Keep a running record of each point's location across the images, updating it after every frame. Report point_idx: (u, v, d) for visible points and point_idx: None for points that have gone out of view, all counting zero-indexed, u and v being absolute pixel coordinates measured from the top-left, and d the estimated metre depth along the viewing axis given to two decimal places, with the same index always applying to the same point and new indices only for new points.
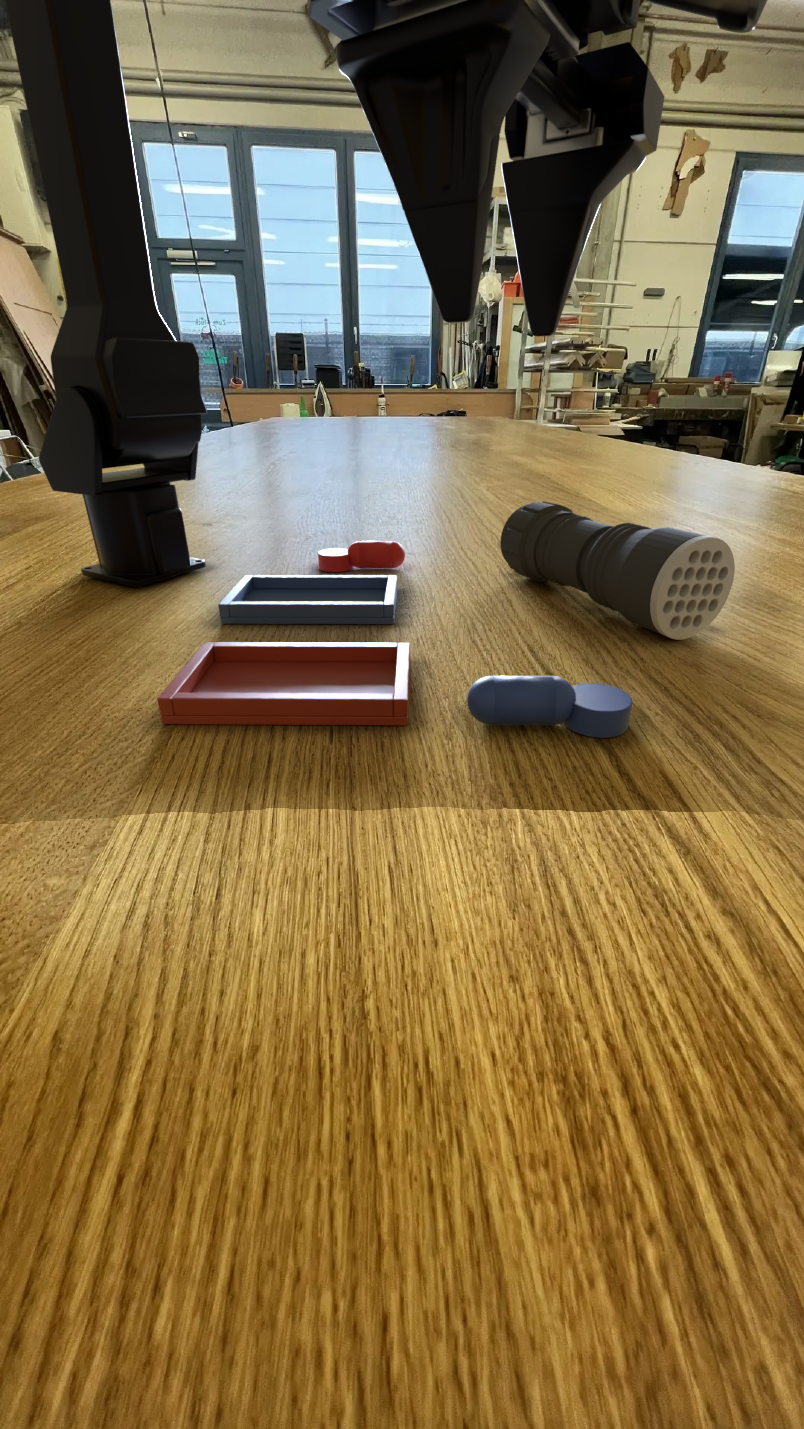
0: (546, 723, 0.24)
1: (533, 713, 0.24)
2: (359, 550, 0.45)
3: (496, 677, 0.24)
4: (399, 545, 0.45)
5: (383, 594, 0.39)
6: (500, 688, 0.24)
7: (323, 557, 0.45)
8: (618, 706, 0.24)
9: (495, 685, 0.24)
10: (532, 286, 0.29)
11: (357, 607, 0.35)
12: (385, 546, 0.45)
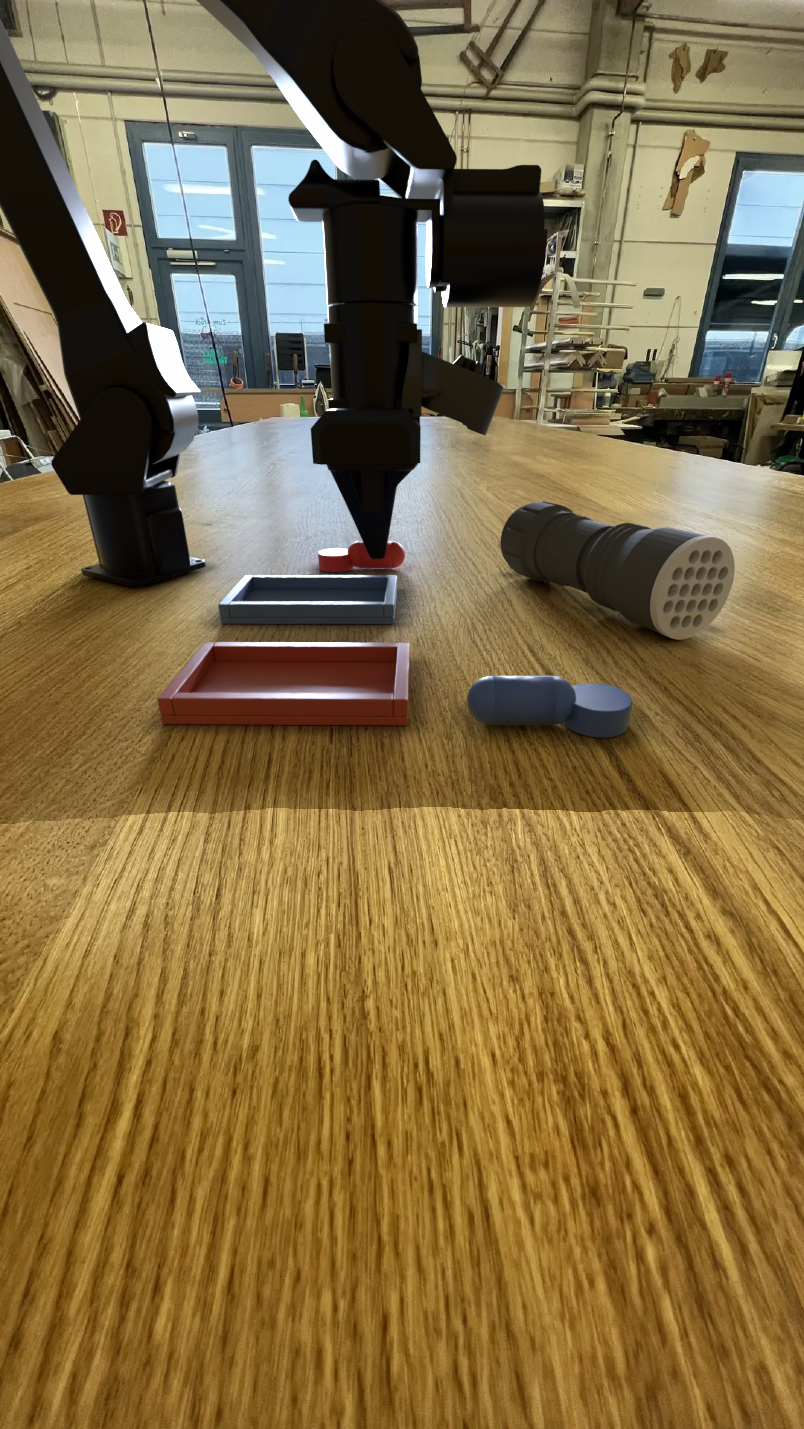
0: (546, 723, 0.24)
1: (533, 713, 0.24)
2: (359, 550, 0.45)
3: (496, 677, 0.24)
4: (399, 545, 0.45)
5: (383, 594, 0.39)
6: (500, 688, 0.24)
7: (323, 558, 0.45)
8: (618, 706, 0.24)
9: (495, 685, 0.24)
10: None
11: (357, 607, 0.35)
12: None
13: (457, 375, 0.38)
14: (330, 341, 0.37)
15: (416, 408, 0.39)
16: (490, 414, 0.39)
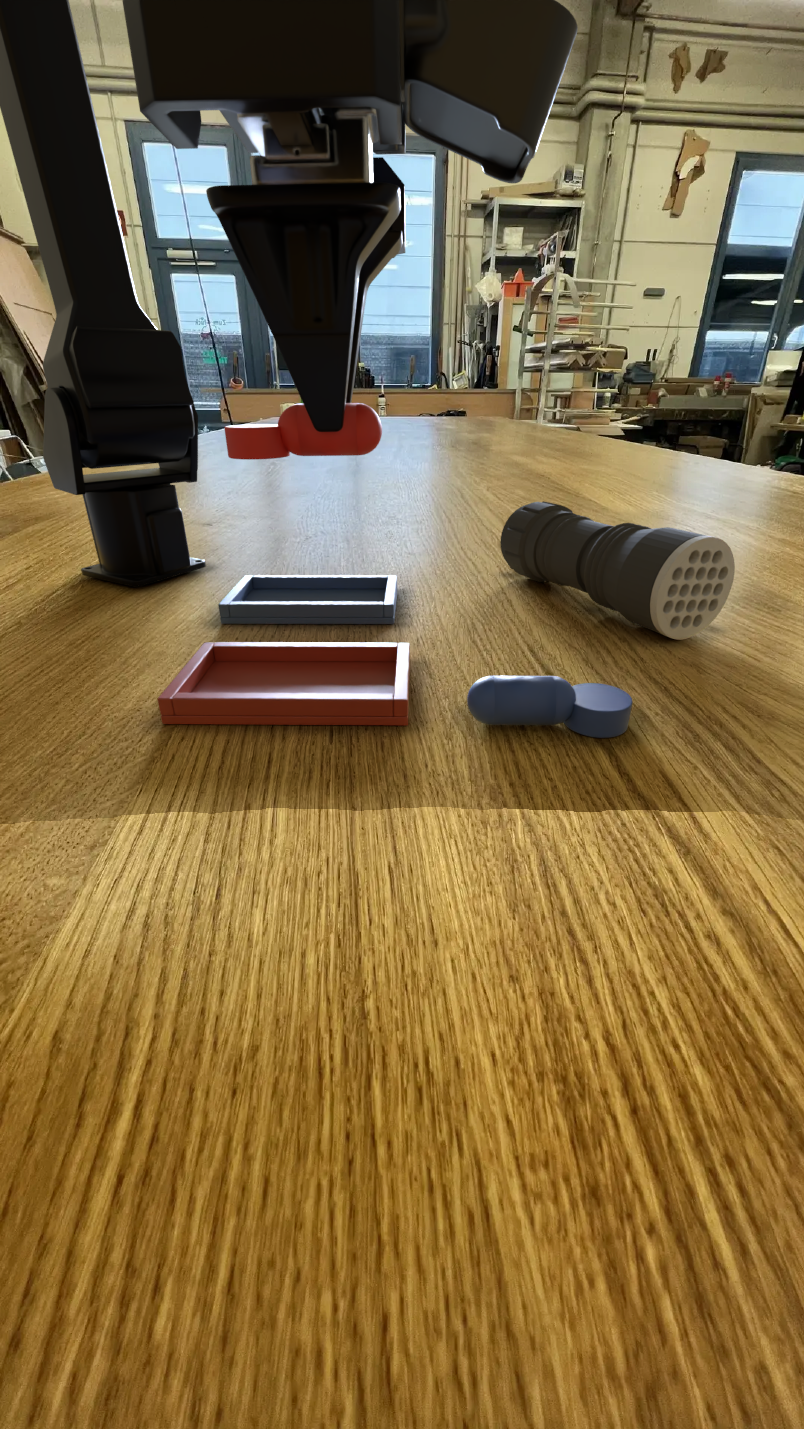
0: (546, 723, 0.24)
1: (533, 713, 0.24)
2: (297, 417, 0.25)
3: (496, 677, 0.24)
4: (371, 409, 0.25)
5: (383, 594, 0.39)
6: (500, 688, 0.24)
7: (233, 432, 0.25)
8: (618, 706, 0.24)
9: (495, 685, 0.24)
10: None
11: (357, 607, 0.35)
12: (345, 410, 0.25)
13: None
14: None
15: None
16: (547, 93, 0.19)
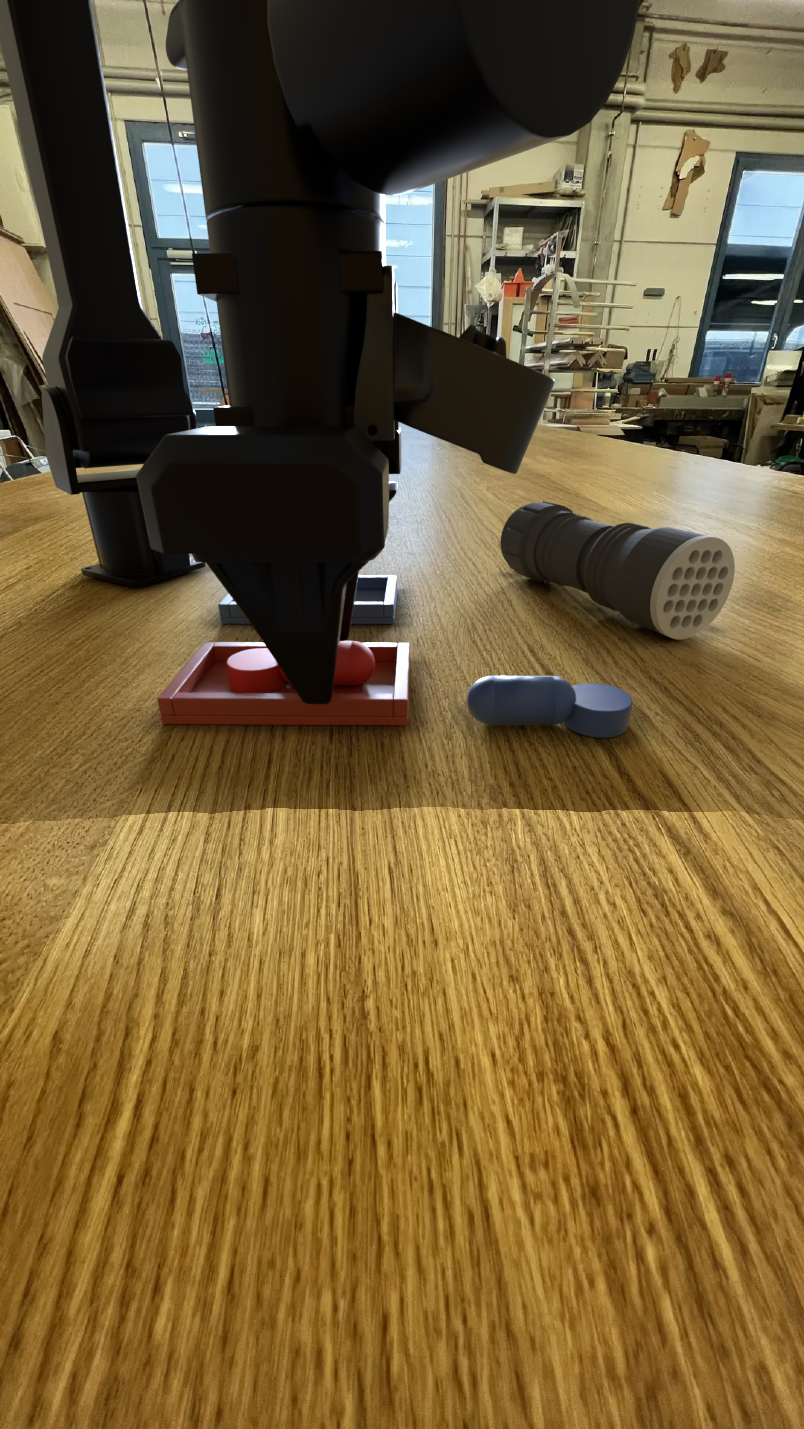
0: (546, 723, 0.24)
1: (533, 713, 0.24)
2: None
3: (496, 677, 0.24)
4: (364, 649, 0.27)
5: (383, 594, 0.39)
6: (500, 688, 0.24)
7: (234, 672, 0.26)
8: (618, 706, 0.24)
9: (495, 685, 0.24)
10: None
11: (357, 607, 0.35)
12: (340, 652, 0.26)
13: (464, 359, 0.19)
14: (208, 290, 0.19)
15: (383, 424, 0.20)
16: (526, 435, 0.21)
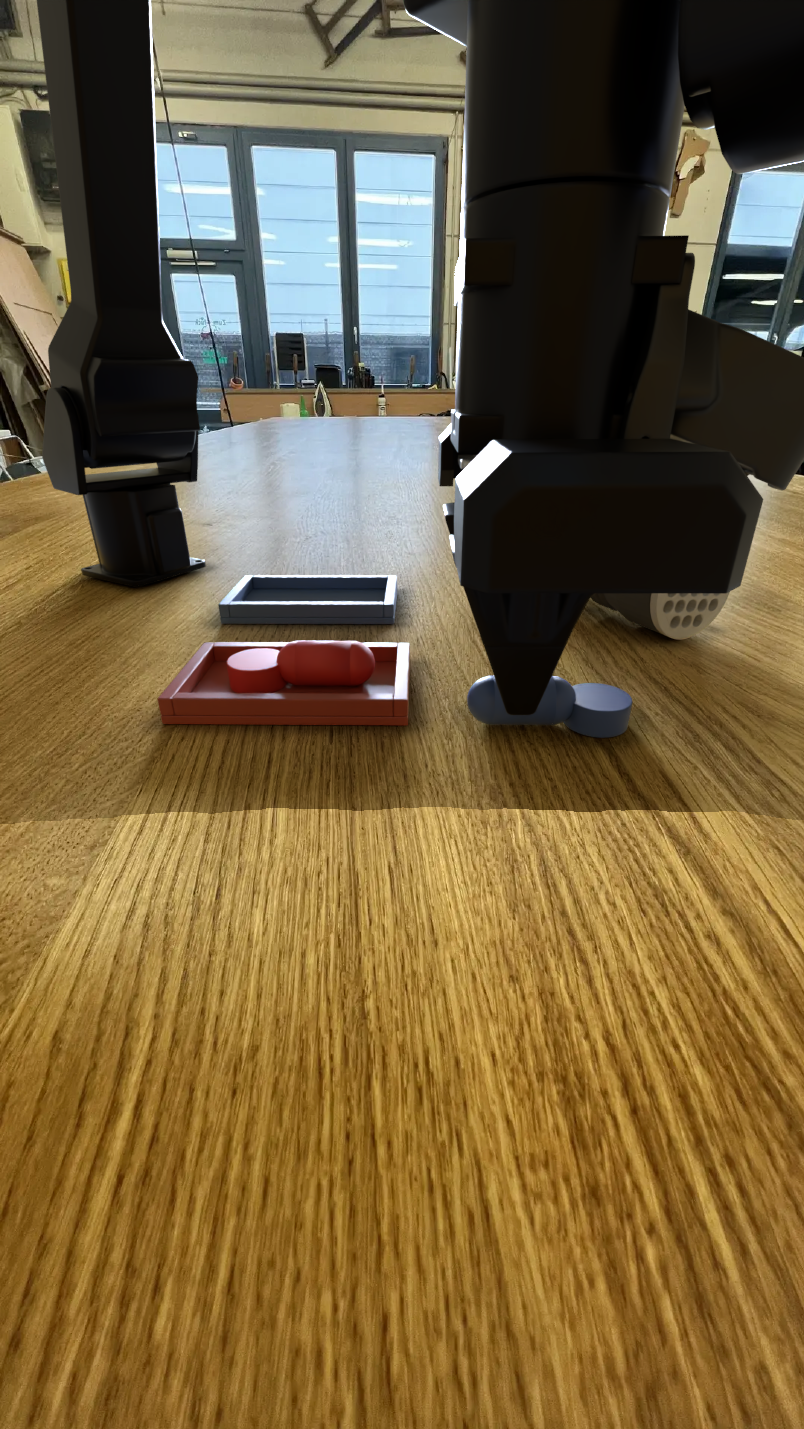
0: (546, 723, 0.24)
1: None
2: (294, 659, 0.26)
3: None
4: (364, 649, 0.27)
5: (383, 594, 0.39)
6: None
7: (234, 672, 0.26)
8: (618, 705, 0.24)
9: (495, 685, 0.24)
10: None
11: (357, 607, 0.35)
12: (340, 652, 0.26)
13: (759, 361, 0.17)
14: (477, 282, 0.16)
15: (659, 435, 0.17)
16: None
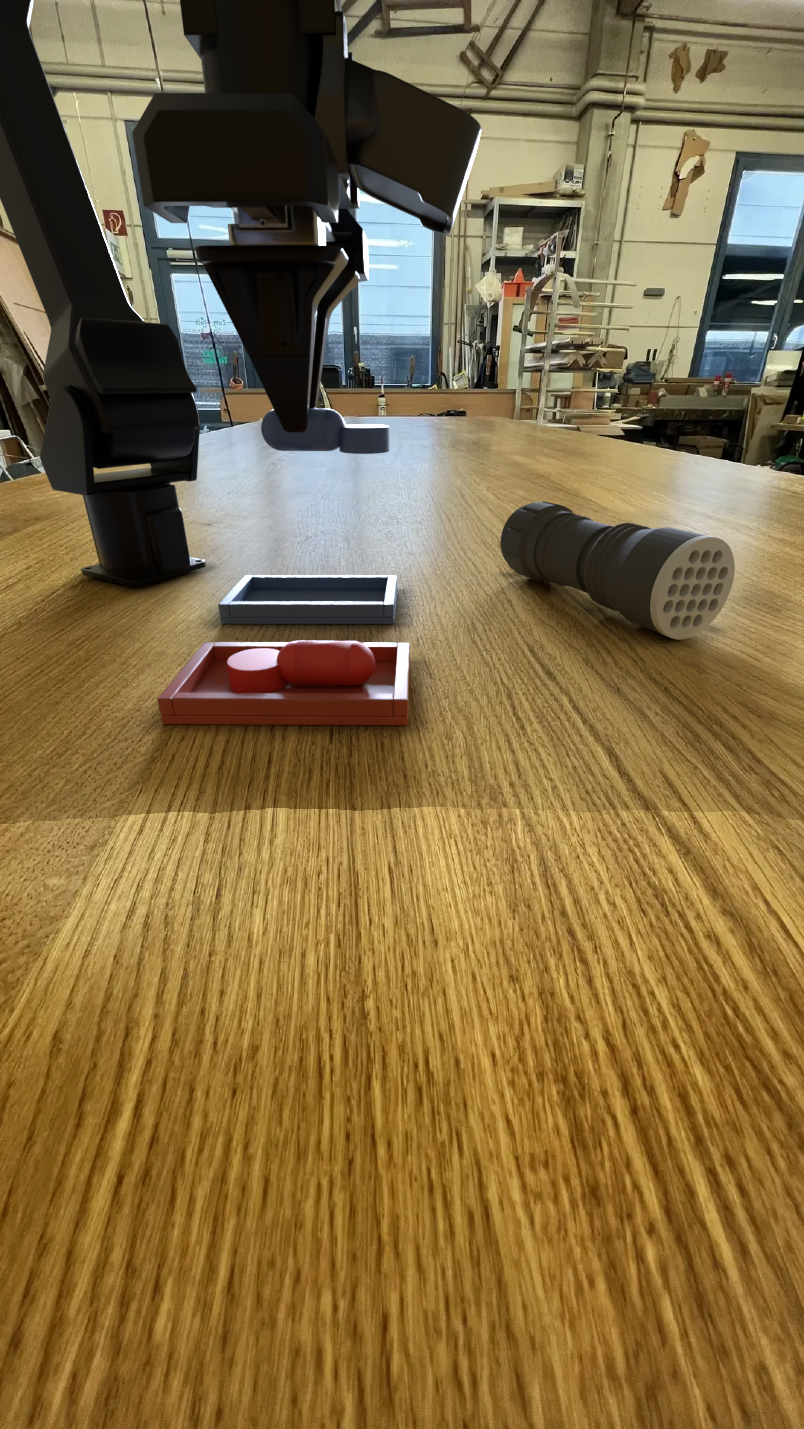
0: (321, 445, 0.31)
1: (307, 433, 0.31)
2: (294, 659, 0.26)
3: None
4: (364, 649, 0.27)
5: (383, 594, 0.39)
6: None
7: (234, 672, 0.26)
8: (373, 427, 0.30)
9: None
10: None
11: (357, 607, 0.35)
12: (340, 652, 0.26)
13: (403, 99, 0.23)
14: (192, 31, 0.23)
15: (338, 157, 0.24)
16: (458, 175, 0.25)
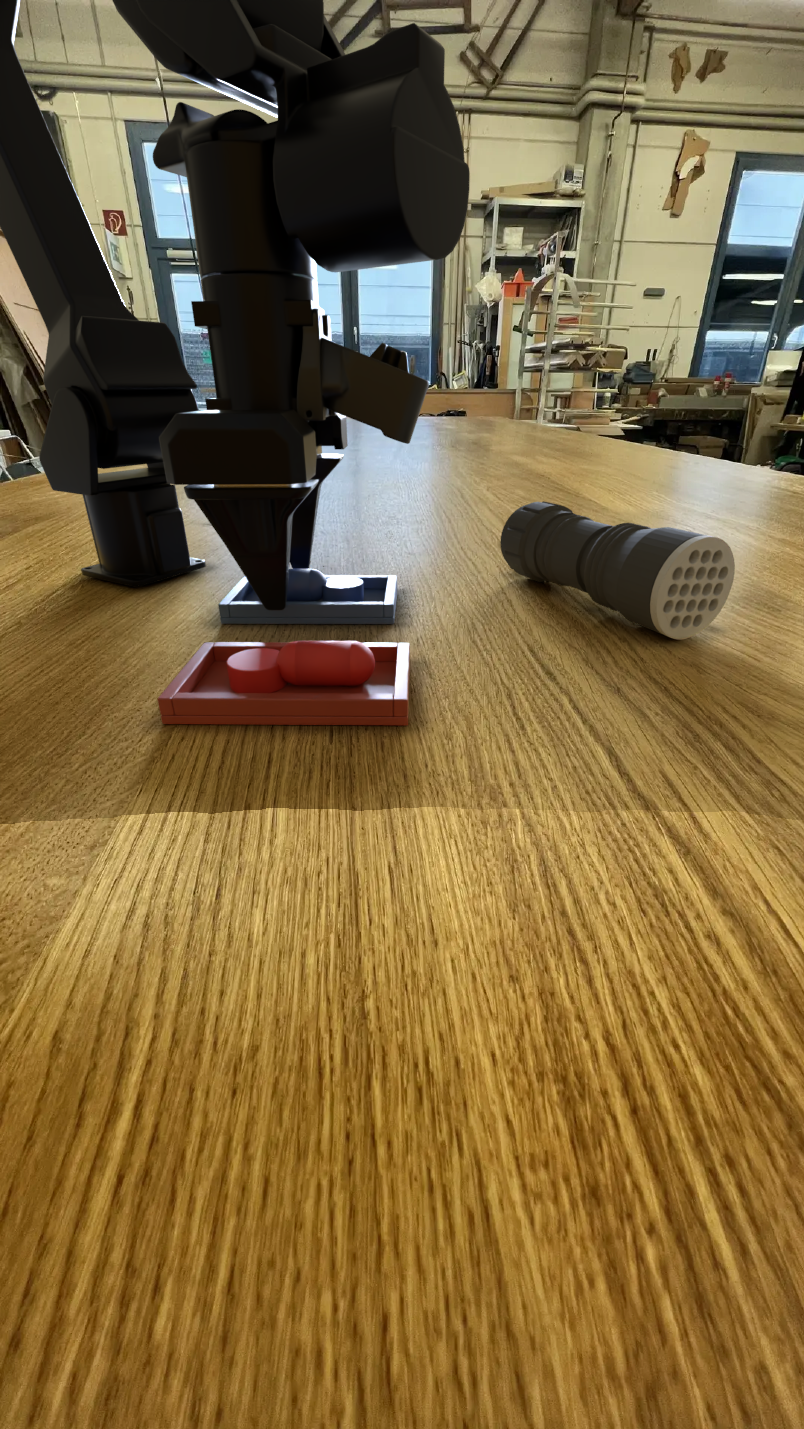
0: (306, 599, 0.37)
1: (295, 591, 0.37)
2: (294, 659, 0.26)
3: None
4: (364, 649, 0.27)
5: (383, 594, 0.39)
6: None
7: (234, 672, 0.26)
8: (349, 586, 0.37)
9: None
10: None
11: (357, 607, 0.35)
12: (340, 652, 0.26)
13: (366, 368, 0.30)
14: (201, 324, 0.29)
15: (316, 410, 0.30)
16: (411, 417, 0.31)
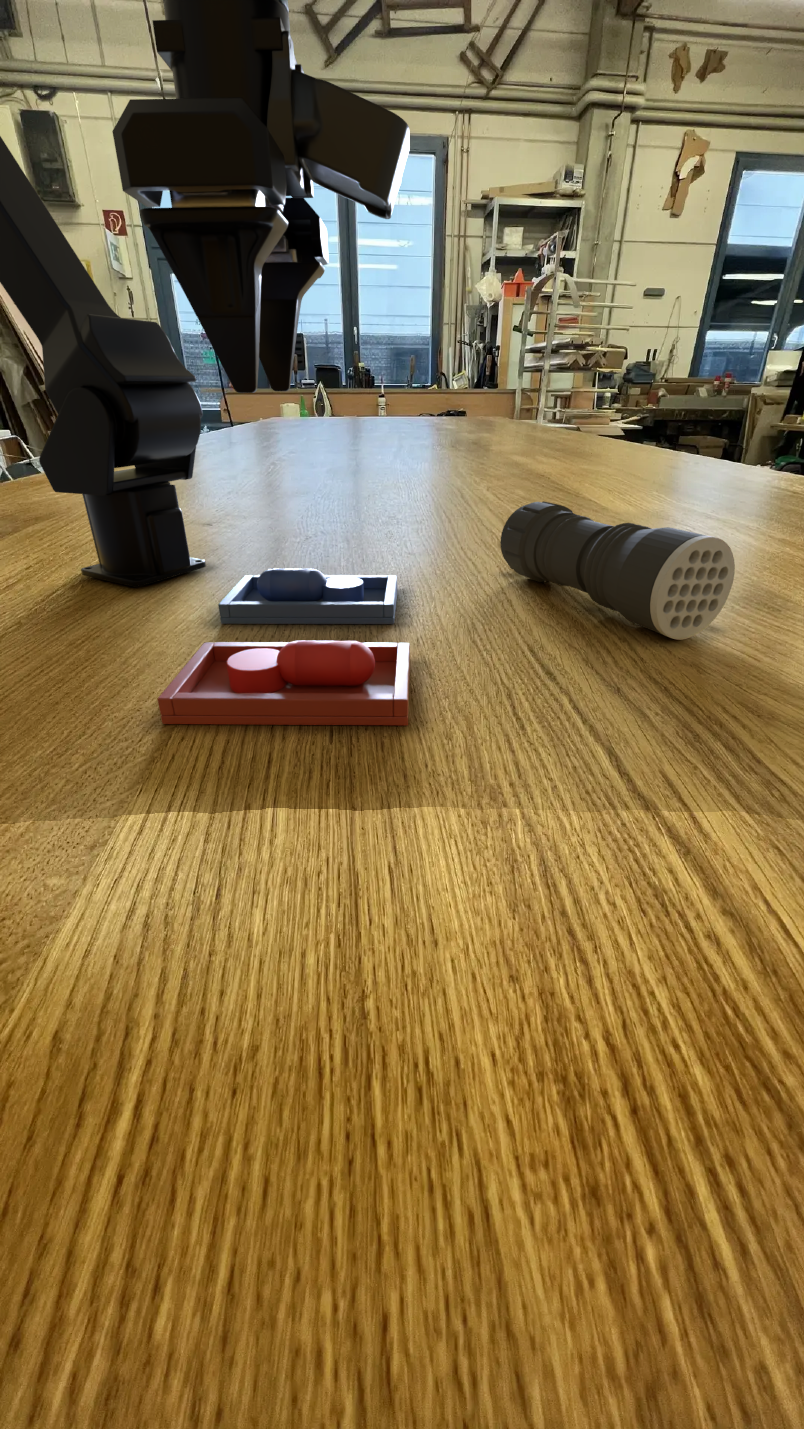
0: (306, 599, 0.37)
1: (295, 591, 0.37)
2: (294, 659, 0.26)
3: (274, 569, 0.37)
4: (364, 649, 0.27)
5: (383, 594, 0.39)
6: (274, 575, 0.37)
7: (234, 672, 0.26)
8: (349, 586, 0.37)
9: (271, 573, 0.37)
10: (266, 355, 0.39)
11: (357, 607, 0.35)
12: (340, 652, 0.26)
13: (341, 102, 0.28)
14: (164, 49, 0.27)
15: (287, 152, 0.29)
16: (390, 166, 0.29)
